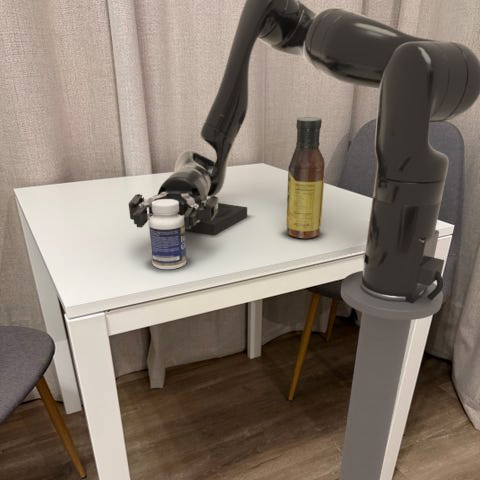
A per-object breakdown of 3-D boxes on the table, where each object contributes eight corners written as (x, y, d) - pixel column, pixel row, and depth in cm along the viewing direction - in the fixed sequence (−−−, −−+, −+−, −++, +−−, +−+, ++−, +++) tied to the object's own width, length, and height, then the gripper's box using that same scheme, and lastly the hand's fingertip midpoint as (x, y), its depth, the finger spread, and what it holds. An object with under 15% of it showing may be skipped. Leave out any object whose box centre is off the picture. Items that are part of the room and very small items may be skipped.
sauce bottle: (296, 226, 92) (303, 114, 82) (326, 233, 89) (336, 117, 79) (278, 236, 87) (283, 118, 78) (309, 243, 84) (318, 121, 74)
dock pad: (247, 216, 98) (247, 207, 97) (214, 235, 88) (214, 224, 87) (193, 208, 103) (193, 198, 102) (156, 224, 93) (155, 214, 92)
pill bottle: (189, 268, 74) (186, 205, 69) (154, 272, 73) (149, 208, 68) (183, 255, 79) (179, 196, 74) (150, 259, 77) (144, 198, 73)
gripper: (142, 170, 83) (111, 194, 69) (224, 172, 82) (210, 197, 68) (146, 213, 87) (117, 244, 72) (225, 215, 86) (212, 247, 71)
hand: (162, 221), depth 70 cm, fingers open, 6 cm apart
